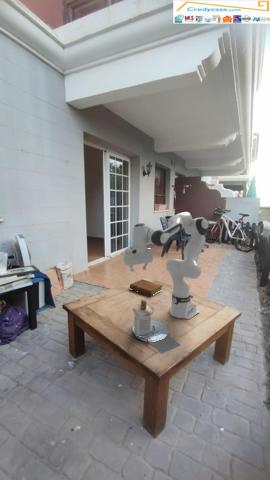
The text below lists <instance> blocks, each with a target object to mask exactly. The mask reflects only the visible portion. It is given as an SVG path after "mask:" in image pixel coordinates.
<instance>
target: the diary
mask: <svg viewBox="0 0 270 480" xmlns="http://www.w3.org/2000/svg"><path fill="white" fill-rule="evenodd" d="M162 287H163V285H162V284H160V283H156V282H152V281H149V280H147V279H146V280H145V279H140V280H137V281H135V282H133V283H132V282H131V283H130V284H129V289H130V288H131V289H133V290H135V291H138V292H140V293H139V294H141V293H142V294H141V295H144V294H145V296H147V295H148V296H147V297H150V296H152V297H154V296H153V294H155V293H156V292H158V291H160V290H163V288H162ZM135 291H134V292H135ZM138 292H137V293H138Z"/></svg>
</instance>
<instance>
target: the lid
mask: <svg viewBox="0 0 270 480" xmlns="http://www.w3.org/2000/svg"><path fill="white" fill-rule="evenodd" d="M132 311H133V314H134V315H135V314H137V315H139V316H149V315H151V316H152V315H153V314H154V311H155V309H154V307H153V306H151V305H150V304H147V300H146V299H143V300H142V299H141V300H140V304H139V303H138V304H136V305H133V307H132Z"/></svg>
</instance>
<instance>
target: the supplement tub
mask: <svg viewBox="0 0 270 480" xmlns="http://www.w3.org/2000/svg"><path fill="white" fill-rule="evenodd" d="M151 321H152V315H149V316H139V315H137V314H135V313H134V326H133V327H134V330H133V333H135V334H136V335H137V336H141V337H146V338H148V337H150V335H151V328H152V327H151V326H152V325H151V324H152V323H151ZM135 334H134V335H135ZM136 335H135V336H136ZM137 336H136V337H137ZM147 336H148V337H147Z"/></svg>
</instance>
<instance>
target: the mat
mask: <svg viewBox="0 0 270 480" xmlns="http://www.w3.org/2000/svg"><path fill="white" fill-rule="evenodd" d="M147 343H148V344H149V345H151V346H152V347H153V348H154V349H155V350H157V351H158V353H160V354H164V353H167V352H168V351H171V350H173V349H175V348H178V347H180V346H181V343H179V342H178V341H177V340H175V338H173V337H171V336H170V335H168V334H167V336H166V337H165V338H164V339H162V340H159V341H156V342H150V341H147Z"/></svg>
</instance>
